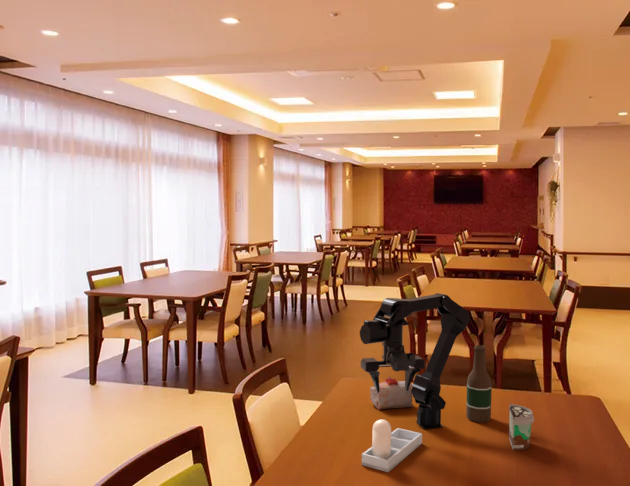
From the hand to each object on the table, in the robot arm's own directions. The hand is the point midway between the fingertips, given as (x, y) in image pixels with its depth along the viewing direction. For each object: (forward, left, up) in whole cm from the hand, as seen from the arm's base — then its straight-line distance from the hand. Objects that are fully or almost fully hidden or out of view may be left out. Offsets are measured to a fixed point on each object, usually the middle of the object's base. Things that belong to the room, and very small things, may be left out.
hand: (392, 391), depth 176 cm
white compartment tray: (+5, +14, -13) cm, 20 cm away
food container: (-34, +16, -13) cm, 40 cm away
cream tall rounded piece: (+10, +19, -12) cm, 25 cm away
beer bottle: (-32, -6, -13) cm, 35 cm away
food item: (-8, -24, -13) cm, 28 cm away
